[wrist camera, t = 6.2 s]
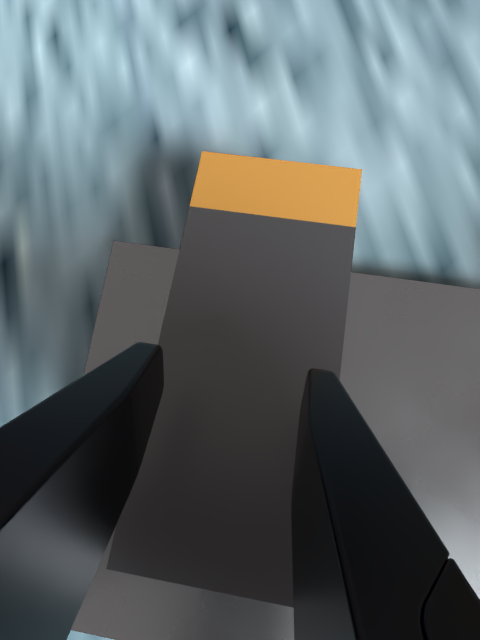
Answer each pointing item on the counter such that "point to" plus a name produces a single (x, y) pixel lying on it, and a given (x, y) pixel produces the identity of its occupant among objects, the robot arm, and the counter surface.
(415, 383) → the breaker strip
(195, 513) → the block
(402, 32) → the counter surface
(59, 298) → the counter surface
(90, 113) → the counter surface
